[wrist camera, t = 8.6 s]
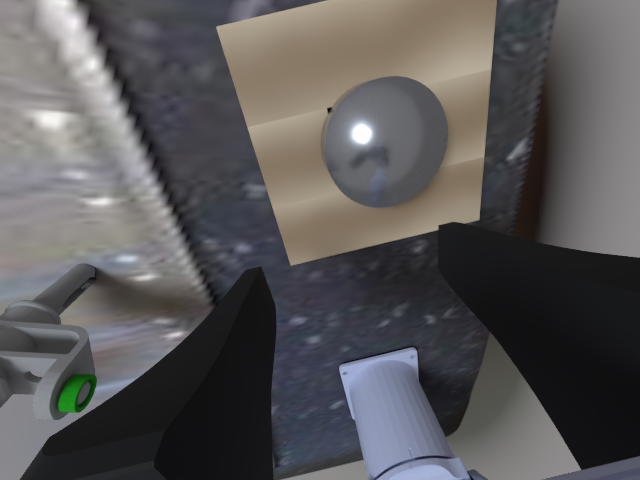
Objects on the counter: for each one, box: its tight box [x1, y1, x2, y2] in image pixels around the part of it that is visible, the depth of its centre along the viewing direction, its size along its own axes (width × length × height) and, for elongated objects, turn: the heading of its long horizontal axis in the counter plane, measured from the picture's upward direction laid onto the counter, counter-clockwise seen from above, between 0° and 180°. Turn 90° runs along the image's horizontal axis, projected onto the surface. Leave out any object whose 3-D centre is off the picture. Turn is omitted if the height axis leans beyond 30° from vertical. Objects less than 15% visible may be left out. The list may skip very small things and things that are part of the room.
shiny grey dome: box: [321, 76, 448, 208], centre depth 15 cm, size 6×6×6 cm
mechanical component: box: [0, 264, 97, 420], centre depth 15 cm, size 3×10×10 cm, turn 77°
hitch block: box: [216, 0, 497, 265], centre depth 16 cm, size 12×12×4 cm
